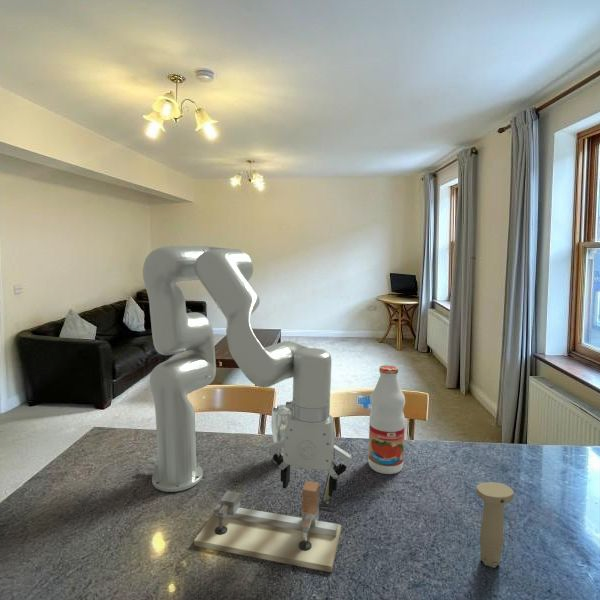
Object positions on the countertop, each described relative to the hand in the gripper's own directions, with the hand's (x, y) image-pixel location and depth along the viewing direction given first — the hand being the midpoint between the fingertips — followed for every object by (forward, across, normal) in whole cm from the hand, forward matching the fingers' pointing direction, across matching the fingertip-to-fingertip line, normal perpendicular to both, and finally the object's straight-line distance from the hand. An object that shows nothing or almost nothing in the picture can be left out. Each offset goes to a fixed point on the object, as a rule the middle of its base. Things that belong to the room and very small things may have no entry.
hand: (308, 488), depth 86 cm
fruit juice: (+10, +15, +32) cm, 36 cm away
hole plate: (+10, -7, -3) cm, 13 cm away
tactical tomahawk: (+11, +3, +19) cm, 22 cm away
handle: (+10, +36, +1) cm, 37 cm away
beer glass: (+11, -13, +28) cm, 33 cm away
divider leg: (+8, +1, -2) cm, 9 cm away
